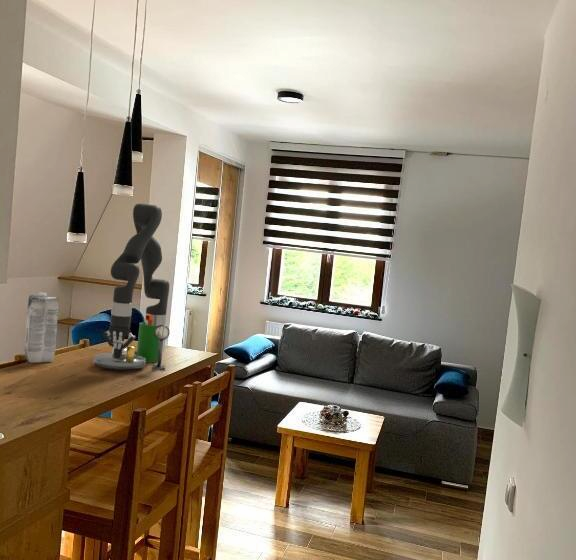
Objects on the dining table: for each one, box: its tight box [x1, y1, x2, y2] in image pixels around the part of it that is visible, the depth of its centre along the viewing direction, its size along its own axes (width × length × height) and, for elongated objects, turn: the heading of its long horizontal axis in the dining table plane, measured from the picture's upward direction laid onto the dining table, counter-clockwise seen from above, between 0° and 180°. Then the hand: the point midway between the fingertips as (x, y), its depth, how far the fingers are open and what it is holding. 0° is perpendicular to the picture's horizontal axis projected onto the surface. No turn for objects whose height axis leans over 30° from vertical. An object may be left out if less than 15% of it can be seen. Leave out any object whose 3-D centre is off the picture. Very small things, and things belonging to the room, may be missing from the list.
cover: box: [111, 347, 127, 359], centre depth 250 cm, size 7×7×5 cm
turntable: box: [93, 345, 147, 370], centre depth 249 cm, size 20×20×8 cm
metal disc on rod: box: [151, 324, 171, 371], centre depth 254 cm, size 5×6×18 cm
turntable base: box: [107, 368, 129, 371], centre depth 249 cm, size 10×10×1 cm
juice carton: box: [24, 292, 59, 364], centre depth 246 cm, size 9×10×27 cm
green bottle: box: [136, 314, 159, 363], centre depth 267 cm, size 10×9×20 cm
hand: (117, 357), depth 242 cm, fingers closed
